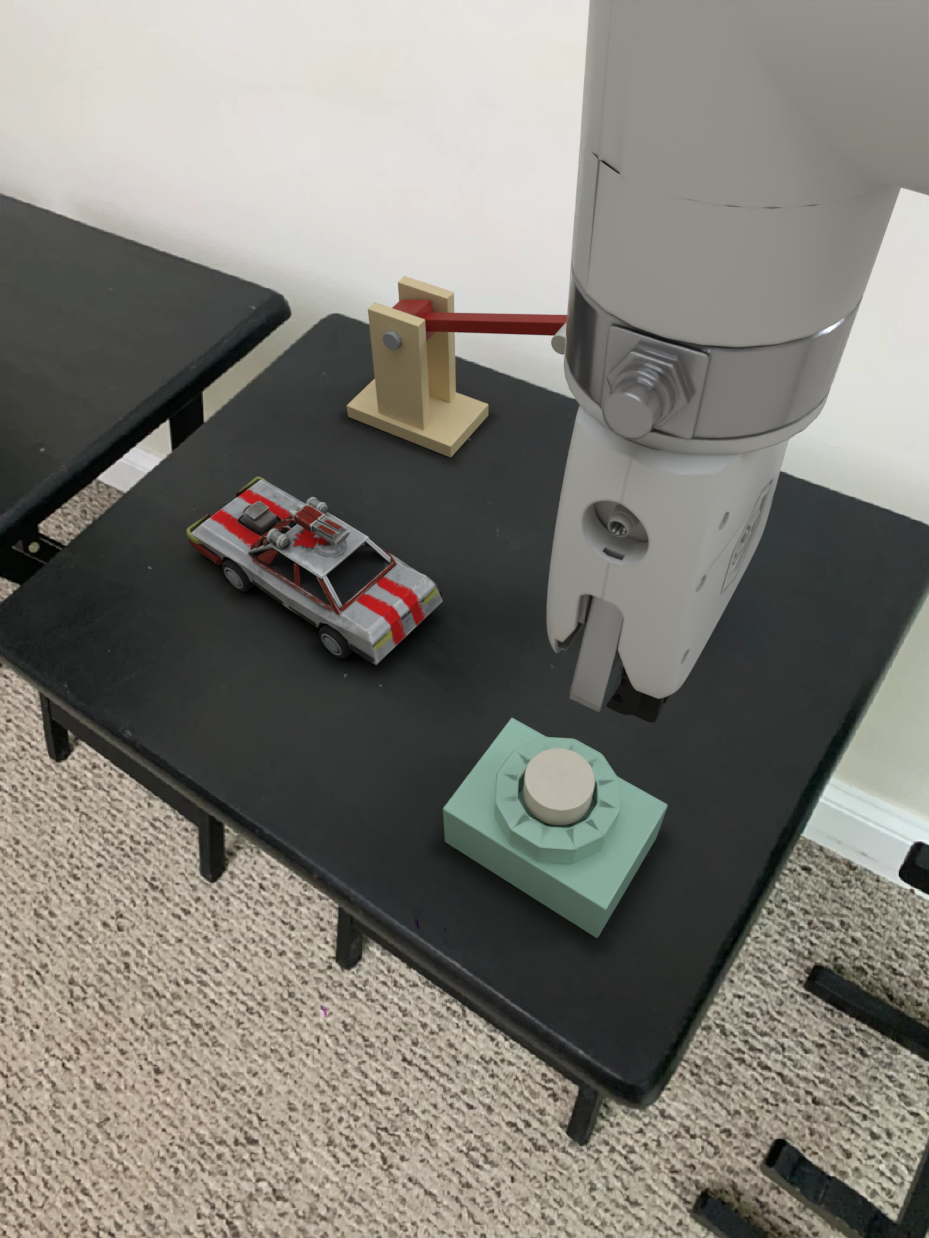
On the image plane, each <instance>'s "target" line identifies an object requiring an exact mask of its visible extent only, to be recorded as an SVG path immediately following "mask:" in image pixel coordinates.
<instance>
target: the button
mask: <svg viewBox="0 0 929 1238" xmlns="http://www.w3.org/2000/svg"><path fill="white" fill-rule="evenodd" d="M594 786H595V777H594V773H593V770H592V768H591V766H590V765H589V763H588V762H587V761H586V760H585V759H584V758H583V757H582V756H581V755H579V754H578V753H576V752H574V751H571V750H568V749H563V748H553V749H548V750H545V751H542V752H540V753H538V754H537V755H536V756H534V757H533V758H532V759H531V761H530V762H529V763H528V765H527V767H526V770H525V776H524V788H523V797H524V801H525V804H526V806H527V808H528V810H529V811H530V812H531V813H532V814H533V815H534V816H535V817H536V818H537V819H539V820H540V821H542V822H545V823H547V824H551V825H568V824H571V823H574V822H576V821H578V820H579V819H580V818H582V817H583V816H584V815H585V814H586V812H587V811H588V809H589V807H590V804H591V800H592V795H593V790H594Z"/></svg>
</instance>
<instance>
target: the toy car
mask: <svg viewBox="0 0 929 1238" xmlns="http://www.w3.org/2000/svg"><path fill="white" fill-rule="evenodd" d="M328 508H329V507H328V505H327V503H326V502H323V501H320V500H318V498H317V497H314V496H310V497H309V498H308V499H306V502H303V501H302V500H300V499H298V498H297V497H295V496H293V495H291V494H290V493H288V492H286V491H284V490H282V489H281V488H279V487H277V486H276V485H274V484H272V483H270V482H269V481H267V480H266V479H265V478H263V477H261V476H256V477H255V478H253V479H252V480H250V481H249V482H247V484H246V485H244V486H243V487H242V488H241V489H239V490H238V491H237V492H236V493H235V498H234V499H232V500H231V501H230V502H229V503H227V504H226V505H225V506H223V507H221V508H220V509H219V510H218V511H216V512H215V513H214V514H213V515H211V513H210V512H209V513H207V514H206V515H204V516H203V517H202V518H200V519H199V520H196V521H195V522H194V523H193V524H191V525H190V526H189V527H187V528H186V533H185V534H186V536H187V538H188V543H189V545H190V546H191V547H192V548H193V549H195V550H196V551H197V552H199V553H200V554H201V555H203V556H204V557H206V558H207V559H209V560H210V562H213V564H215V565H218V566H221V565H222V566H221V569H222V572H223V575H224V576H225V578H226V580H227V582H229V584H231V586H232V587H233V588H235V589H237V591H239V592H243V593H246V592H248V591H250V590H251V589H252V588H253V587H255V586H256V587H257V588H258V589H259V590H261V591H263V593H265V594H267V595H268V596H269V597H271V598H272V599H273V600H274V601H276V602H277V603H279V604H281V605H283V606H284V607H285V608H287V609H288V610H290V611H291V612H293V613H295V614H296V615H297V616H299V617H301V618H302V619H303V620H305V621H306V622H308V624H310V625H312V626H314V627H316V628H319V630H318V637H319V640H320V642H321V645H322V646H323V647H324V648H325V649H326V650H327V651H328V652H329V653H330V654H331V655H332V656H334V657H335V658H338V659H341V660H342V659H343V660H344V659H347V658H348V657H349V656H350V655H351V654H353V653H355V654H357V655H359V656H360V657H361V658H363V659H365V660H366V661H368V662H369V663H371V664H374V665H375V666H377V665H378V664H379V663H380V662H381V661H382V660H383V659H384V658H385V657H386V656H387V655H388V654H389V653H390V652H392V651H393V650H394V649H395V648H396V647H397V646H398V645H399V644H400V643H401V642H402V641H403V640H404V639H405V638H407V636H408V635H409V634H411V632H413V630H415V629H416V628H417V627H418V626H419V625H420V624H421V623H422V622H423V621H424V620H425V619H426V618H427V617H428V616H429V615H430V614H431V613H433V612H434V611H435V609H436V608H437V607H439V606H440V604H442V603H443V601H444V600H443V592H441V591H440V590H439V589H438V586H437V584H436V582H434V581H433V580H432V579H431V578H430V577H429V576H427V575H425V574H423V573H421V572H419V571H417V570H416V569H415V568H414V567H412V566H411V565H409V564H407V563H405V561H402V560H401V559H399V558H398V557H397V556H395V555H394V554H392V553H390V552H389V551H387V550H385V549H384V548H382V547H381V546H379V545H377V543H375V542H374V541H373V540H371V539H370V536H368V535H366V534H364V533H363V532H361V531H360V530H357V529H356V528H355V527H353V526H351V525H349V523H346V522H345V521H344V520H341V519H340V518H338V517H336V516H335V515H333V514H331V513H330V512H328ZM227 558H228V559H227ZM323 624H324V625H323Z"/></svg>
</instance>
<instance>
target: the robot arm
mask: <svg viewBox="0 0 929 1238" xmlns="http://www.w3.org/2000/svg"><path fill="white" fill-rule="evenodd" d="M587 16H588V18H587V33H586V47H585V62H584V63H585V64H584V77H583V91H582V105H581V116H580V117H581V118H580V119H581V120H580V138H579V150H578V163H577V175H576V176H577V177H576V189H575V190H576V191H575V202H574V203H575V204H574V215H573V229H572V243H571V255H570V256H571V257H570V269H569V281H568V283H569V284H568V298H567V312H566V315H567V324H566V339H565V352H564V355H563V371H564V372H563V373H564V378H565V381H566V384H567V387H568V389H569V391H570V393H571V394H572V396H573V397H574V399H575V401H576V402H577V404H579V405H578V408H577V412H576V416H575V420H574V423H573V424H574V425H573V430H572V435H571V438H570V444H569V448H568V453H567V458H566V463H565V468H564V473H563V480H562V486H561V491H560V497H559V503H558V509H557V513H556V521H555V528H554V533H553V539H552V547H551V555H550V563H549V573H548V581H547V593H546V615H545V617H546V618H545V619H546V631H547V632H546V633H547V638H548V641H549V644H550V646H551V648H552V650H553V651H554V653H555V654H559V653H561V652H562V651H565V652H567V651H568V650H569V648H570V647H571V645H572V644H573V642H574V640H575V639H576V637H577V635H578V634H579V633H580V631H581V630H582V628H583V626H584V625H585V626H584V632H583V635H582V640H581V644H580V648H579V651H578V652H579V653H578V656H577V661H576V664H575V665H576V666H575V669H574V673H573V676H572V677H573V678H572V681H571V685H570V689H569V690H570V691H569V695H568V698H569V699H570V700H573V701H575V702H577V703H579V704H581V705H582V706H586V707H587V708H589V709H592V710H594V711H596V712H598V713H602V712H603V711H604V710H605V708H608V709H610V710H612V711H614V712H616V713H618V714H622V715H623V716H634V717H635V718H638V719H640V720H642V721H645V722H647V723H655V722H656V721H657V720H658V718H659V716H660V714H661V713H662V710H663V705H664V704H667V701H668V699H669V697H670V696H671V695H673V694H675V693H676V692H678V691H679V689H680V688H681V687H682V686H683V685H684V683H685V681H687V678H688V677H689V675H690V674H691V671H692V670H693V668H694V666H695V664H697V661H698V659H699V657H700V656H701V654H702V652H703V651H704V649H705V647H706V645H707V643H708V641H709V639H710V638H711V636H712V634H713V632H714V630H715V629H716V627H717V624H718V623H719V621H720V619H721V617H722V616H723V614H724V612H725V610H726V608H727V606H728V604H729V602H730V600H731V599H732V596H733V595H734V593H735V591H736V590H737V587H738V586H739V584H740V582H741V580H742V578H743V576H744V574H745V572H746V570H747V568H748V567H749V564H750V563H751V560H752V558H753V557H754V554H755V553H756V550H757V548H758V546H759V544H760V541H761V539H762V537H763V534H764V531H765V529H766V525H767V522H768V518H769V514H770V511H771V507H772V503H773V499H774V497H775V493H776V488H777V486H778V482H779V477H780V474H781V470H782V466H783V462H784V458H785V455H786V450H787V448H788V444H789V441H790V440H791V438H793V437H795V436H796V435H798V434H799V433H802V432H804V431H805V430H807V428H809V426H810V425H811V424H812V423H813V422H814V421H815V420H816V419H817V418H818V417H819V416H820V414H821V413H822V411H823V409H824V407H825V405H826V403H827V400H828V397H829V395H830V391H831V388H832V385H833V384H834V381H835V378H836V375H837V372H838V369H839V366H840V364H841V361H842V358H843V355H844V352H845V350H846V346H847V343H848V340H849V338H850V335H851V332H852V329H853V327H854V323H855V320H856V318H857V315H858V312H859V309H860V307H861V302H862V300H863V297H864V294H865V292H866V290H867V286H868V284H869V281H870V278H871V275H872V272H873V269H874V266H875V264H876V260H877V258H878V255H879V252H880V250H881V247H882V244H883V240H884V239H885V238H884V237H885V235H886V233H887V229H888V226H889V223H890V221H891V217H892V215H893V212H894V210H895V206H896V203H897V200H898V197H899V194H900V192H901V189H904V190H907V191H911V192H915V193H917V194H922V195H926V196H929V0H589V3H588V15H587Z"/></svg>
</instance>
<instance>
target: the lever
mask: <svg viewBox="0 0 929 1238" xmlns="http://www.w3.org/2000/svg"><path fill="white" fill-rule="evenodd" d="M391 308H393V309H396V310H399V311H402V312H405V313H408V314H411V315H413V316H416V317H419V318H422V319H425V327H426V341H427V340H428V339H429V338H430V337H431V336H432V335H433V334H434V333H436V332H455V333H457V334H458V333H459V334H460V333H461V334H462V333H463V334H492V335H518V336H519V335H521V336H522V335H523V336H547V337H548V336H552V337H551V339H550V345H551V348H552V350H553V351H554V352H555V353H557V354H558V355H562V356H564V352H565V339H566V324H567V314H548V313H547V314H545V313H543V314H542V313H541V314H539V313H538V314H537V313H493V312H492V313H491V312H454V313H443V312H434V310H433V307H432V304H431V301H430V300H400V301H399V300H398V301H397V303H395V304H394V306H392V307H391Z"/></svg>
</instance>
